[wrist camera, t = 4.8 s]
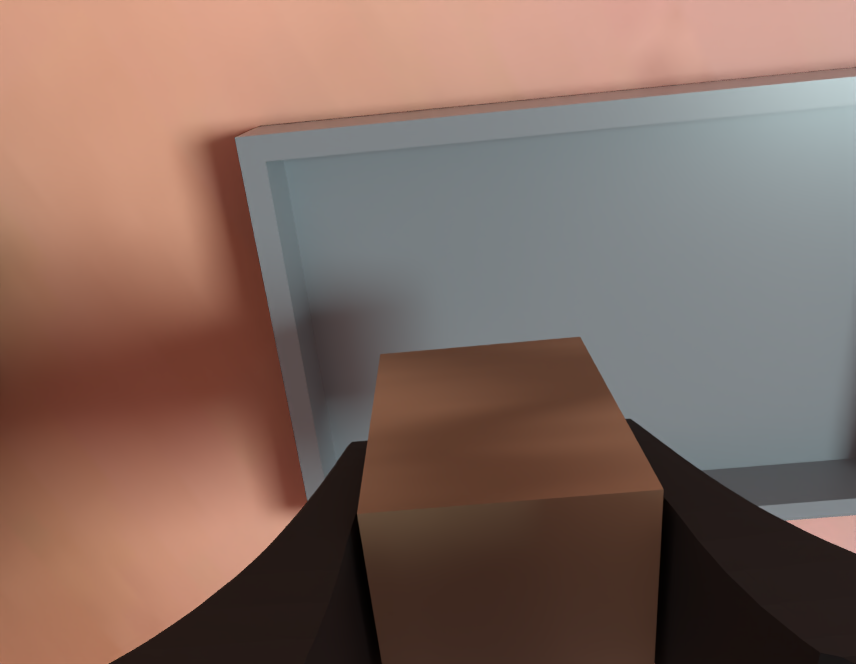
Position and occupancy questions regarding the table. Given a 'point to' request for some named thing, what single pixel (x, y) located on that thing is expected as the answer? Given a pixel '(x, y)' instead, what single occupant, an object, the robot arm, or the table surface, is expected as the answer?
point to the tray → (586, 263)
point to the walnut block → (507, 510)
